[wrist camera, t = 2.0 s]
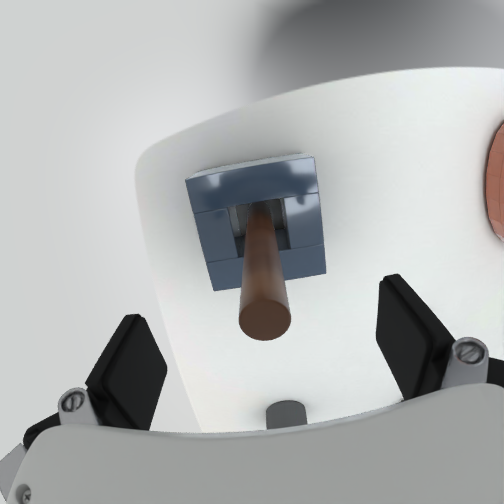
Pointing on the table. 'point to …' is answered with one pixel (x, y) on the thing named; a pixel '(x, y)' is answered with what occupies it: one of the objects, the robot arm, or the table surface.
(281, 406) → the bottle
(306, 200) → the holder
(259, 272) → the stick
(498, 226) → the bowl
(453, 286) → the table surface
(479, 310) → the table surface
